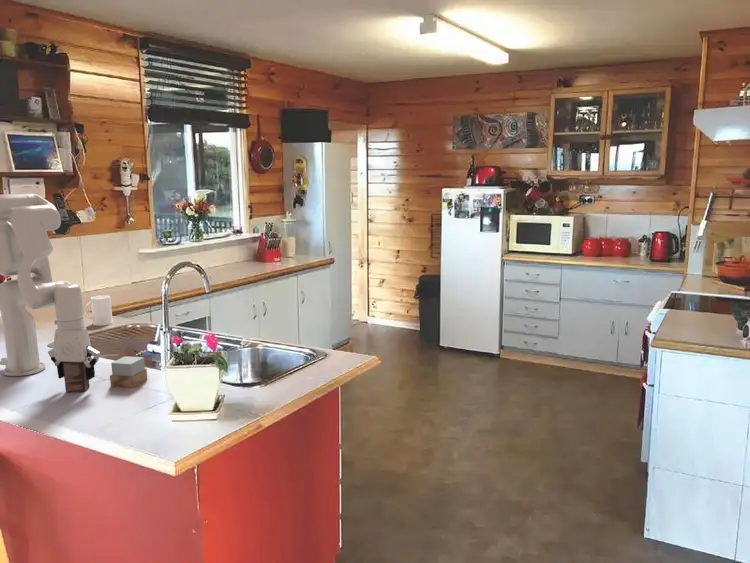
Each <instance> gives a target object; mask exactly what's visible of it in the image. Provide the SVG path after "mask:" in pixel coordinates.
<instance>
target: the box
mask: <svg viewBox="0 0 750 563" xmlns="http://www.w3.org/2000/svg"><path fill="white" fill-rule="evenodd" d="M62 362H63V361H62ZM86 367H87V366H86V365H85V364H84V362H63V371H64V377H63V378H64V387H65V392H66V393H72V392H75V393H76V392H87V391H88V389H89V388H90V380H87V378H86Z"/></svg>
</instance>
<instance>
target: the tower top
mask: <svg viewBox="0 0 750 563" xmlns="http://www.w3.org/2000/svg"><path fill="white" fill-rule="evenodd" d="M110 364H111V375H119V376H134V375H136V374H137V373H139V372H141V371H143V370H145V369H146V366H145V357H143V356H141V357H140V356H129V355H128V356H127V355H125V356H122V357H121V358H118V359H117V360H114V361H112V362H111V363H110Z"/></svg>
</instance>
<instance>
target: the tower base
mask: <svg viewBox="0 0 750 563" xmlns="http://www.w3.org/2000/svg"><path fill="white" fill-rule="evenodd" d="M109 380H110V382H109V383H110V388H123V389H124V388H126V389H127V388H128V389H135V388H136V387H138V386H139V385H141V384H143V383H144V382H145V381H148V370H147V368H145V370H143V371H141V372H139V373H137V374H136V375H134V376H119V375H112V374H110V375H109Z"/></svg>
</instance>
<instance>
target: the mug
mask: <svg viewBox="0 0 750 563" xmlns="http://www.w3.org/2000/svg"><path fill="white" fill-rule="evenodd" d="M88 306H91V307H90V308H91V316H89V315H88V314H87V308H88ZM112 310H113V309H112V300H111V295H109V294H108V295H107V294H99V295H94V296H91V297H90V301H88V303H86V305H85V306H84V308H83V313H84V315H85V316H86V317H87V319H90V320H92V326H94V327H95V326H96V327H98V326H108V325H109V326H110V325H111V324H113V323H114V320H113V313H112V312H113V311H112Z"/></svg>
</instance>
